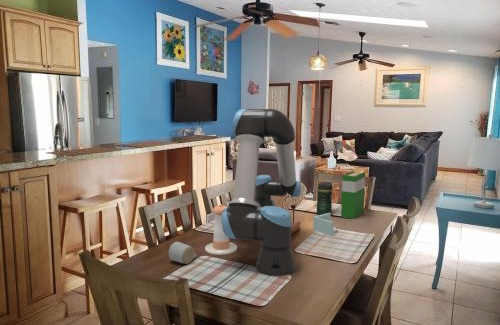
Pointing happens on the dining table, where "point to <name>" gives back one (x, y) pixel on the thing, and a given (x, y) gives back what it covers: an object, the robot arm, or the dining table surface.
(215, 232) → the pepper shaker
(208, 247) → the cream saucer
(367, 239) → the dining table surface
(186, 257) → the ceramic mug
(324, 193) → the coffee jar
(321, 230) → the l-shaped corner panel
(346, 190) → the hardback book
